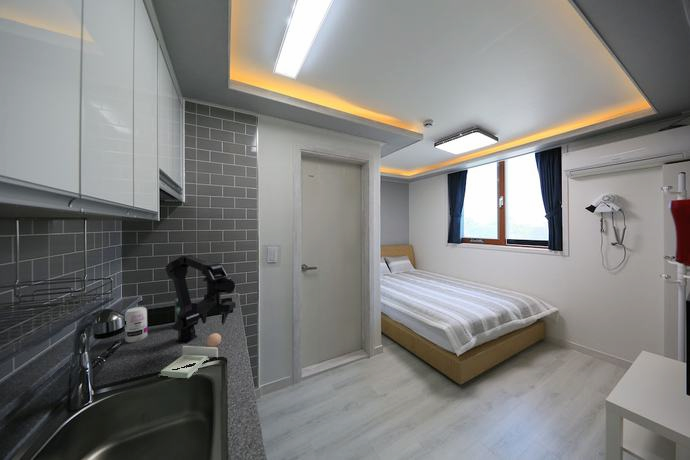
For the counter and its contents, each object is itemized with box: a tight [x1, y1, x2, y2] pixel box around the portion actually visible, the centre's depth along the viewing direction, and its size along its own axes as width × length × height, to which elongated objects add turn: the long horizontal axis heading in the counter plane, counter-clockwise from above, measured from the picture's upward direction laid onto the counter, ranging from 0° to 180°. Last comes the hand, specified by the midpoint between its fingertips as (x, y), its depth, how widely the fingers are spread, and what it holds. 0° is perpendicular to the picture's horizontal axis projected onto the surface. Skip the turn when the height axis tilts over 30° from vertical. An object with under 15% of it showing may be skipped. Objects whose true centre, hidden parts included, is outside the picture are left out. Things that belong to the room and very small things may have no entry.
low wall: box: [181, 345, 219, 358], centre depth 101 cm, size 16×1×4 cm, turn 85°
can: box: [174, 298, 180, 324], centre depth 131 cm, size 6×6×15 cm
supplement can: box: [124, 306, 148, 343], centre depth 115 cm, size 8×8×15 cm
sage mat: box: [158, 354, 211, 379], centre depth 93 cm, size 12×12×2 cm
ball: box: [206, 332, 222, 348], centre depth 108 cm, size 6×6×6 cm
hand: (213, 323), depth 108 cm, fingers open, 9 cm apart
